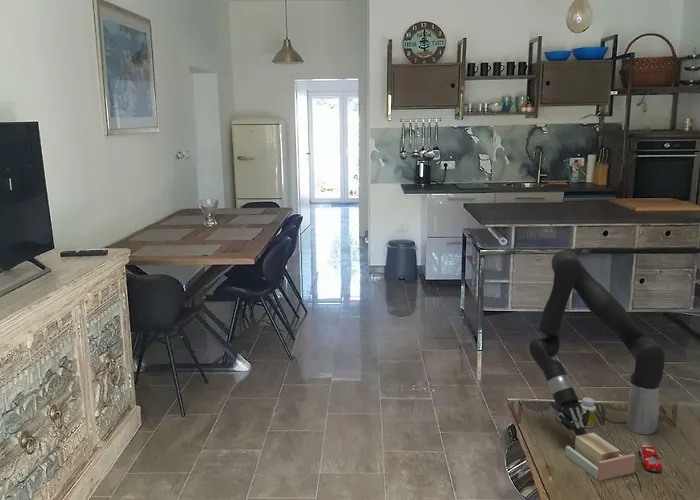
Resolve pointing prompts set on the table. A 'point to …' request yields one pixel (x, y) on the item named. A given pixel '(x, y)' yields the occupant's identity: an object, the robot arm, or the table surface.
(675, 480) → the table surface
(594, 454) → the oak block
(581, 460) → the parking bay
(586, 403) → the supplement bottle
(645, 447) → the race car
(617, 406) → the table surface
